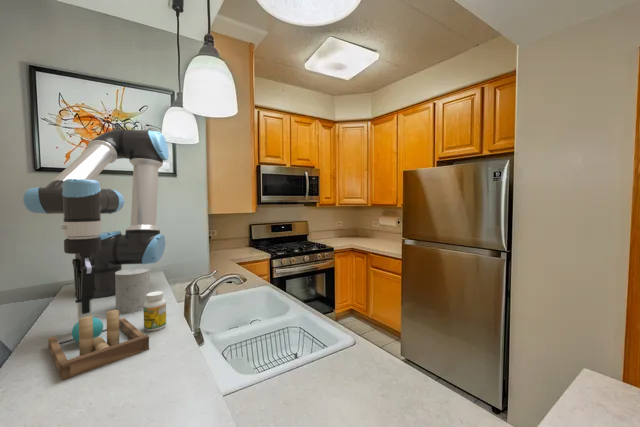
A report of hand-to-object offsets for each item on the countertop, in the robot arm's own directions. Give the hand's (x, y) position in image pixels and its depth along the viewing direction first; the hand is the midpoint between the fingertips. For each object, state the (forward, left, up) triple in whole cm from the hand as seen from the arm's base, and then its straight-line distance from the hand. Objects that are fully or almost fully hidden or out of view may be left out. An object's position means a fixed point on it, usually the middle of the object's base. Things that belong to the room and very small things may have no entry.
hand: (84, 323), depth 74 cm
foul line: (+4, 0, -2) cm, 4 cm away
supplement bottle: (+12, +13, -2) cm, 18 cm away
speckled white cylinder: (-9, +14, -2) cm, 17 cm away
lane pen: (+14, 0, -2) cm, 14 cm away
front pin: (+12, 0, -1) cm, 12 cm away
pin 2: (+15, +2, -2) cm, 16 cm away
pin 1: (+15, -2, -2) cm, 16 cm away
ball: (+8, -1, +1) cm, 8 cm away
